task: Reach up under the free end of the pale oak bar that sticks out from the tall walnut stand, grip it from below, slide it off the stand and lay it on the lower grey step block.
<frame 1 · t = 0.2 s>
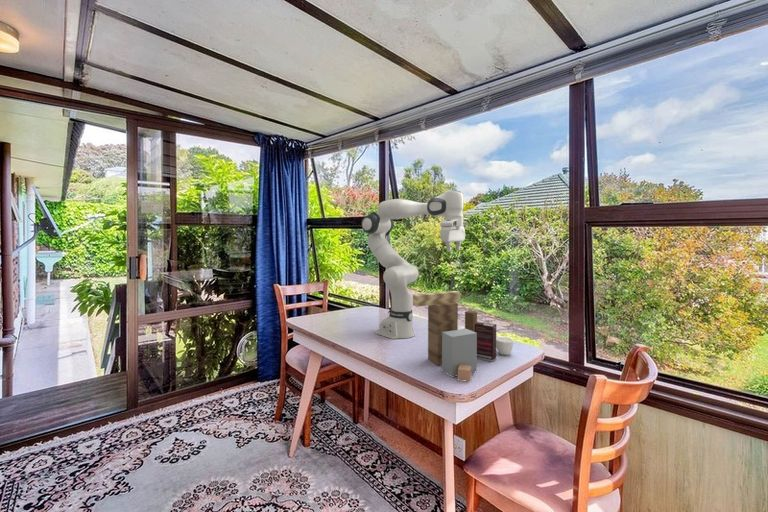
hand: (453, 250, 163), 48 cm above the table, tool pointing down, fingers open, 8 cm apart
oak bar: (436, 303, 143), point 26 cm above the table, touching walnut stand
cup: (504, 353, 155), on the table
supplement box: (485, 358, 148), on the table
clay cube: (464, 378, 128), on the table
walnut stand: (442, 360, 146), on the table
grey step block: (459, 370, 135), on the table
wooden block: (468, 349, 161), on the table
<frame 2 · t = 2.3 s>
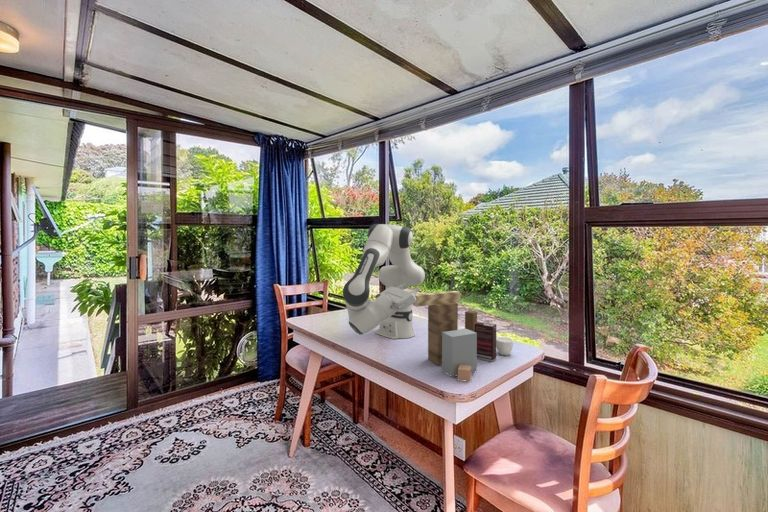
hand: (412, 286, 137), 34 cm above the table, tool pointing upward, fingers open, 8 cm apart
nothing on the table moved.
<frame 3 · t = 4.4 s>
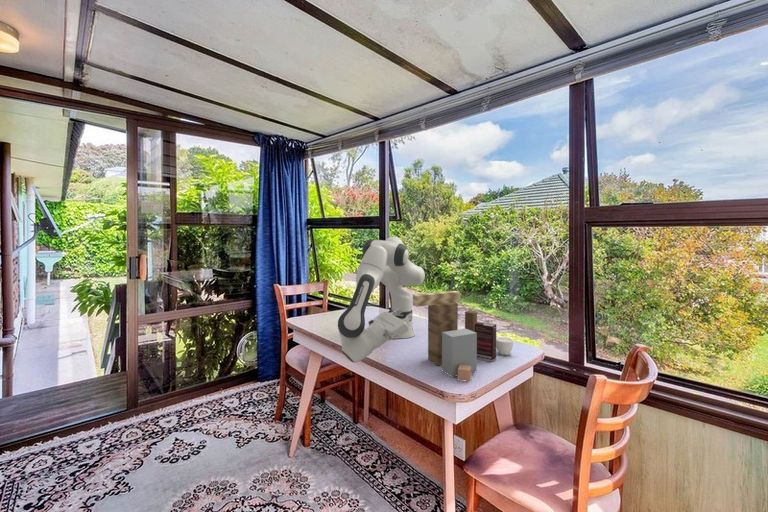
hand: (405, 312, 137), 23 cm above the table, tool pointing upward, fingers open, 8 cm apart
nothing on the table moved.
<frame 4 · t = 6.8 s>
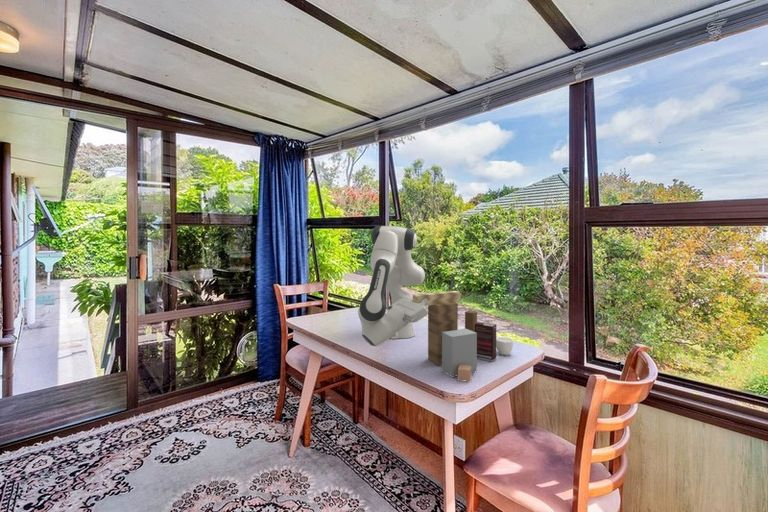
hand: (423, 298, 140), 29 cm above the table, tool pointing upward, fingers closed on oak bar, 3 cm apart
oak bar: (436, 303, 143), point 26 cm above the table, touching gripper, walnut stand
everything else where it was.
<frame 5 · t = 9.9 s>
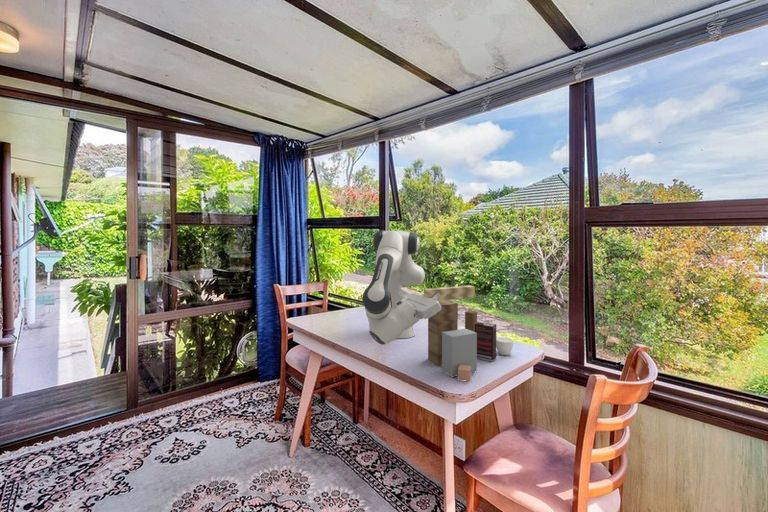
hand: (435, 293, 130), 33 cm above the table, tool pointing upward, fingers closed on oak bar, 3 cm apart
oak bar: (449, 298, 133), point 30 cm above the table, touching gripper
everything else where it was.
when the fingers open (19 cm above the table, at t = 13.1 s): oak bar stays where it is, resting on grey step block.
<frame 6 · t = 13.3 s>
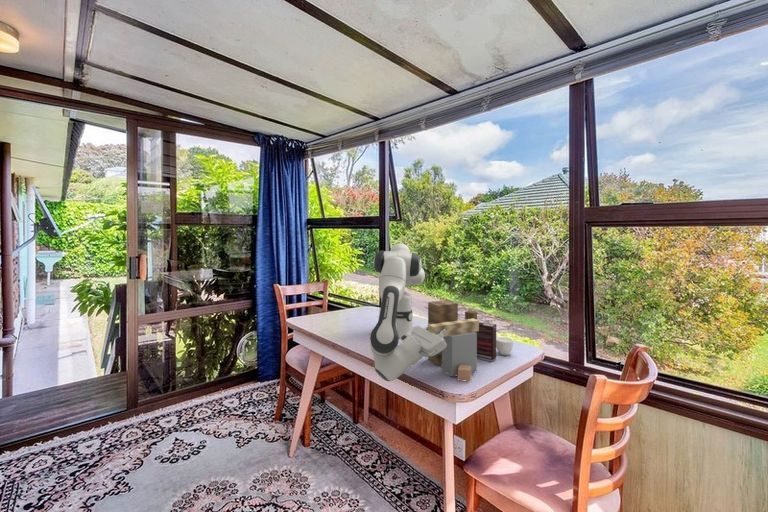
hand: (440, 327, 130), 19 cm above the table, tool pointing upward, fingers open, 6 cm apart
oak bar: (454, 333, 133), point 16 cm above the table, touching grey step block
everything else where it was.
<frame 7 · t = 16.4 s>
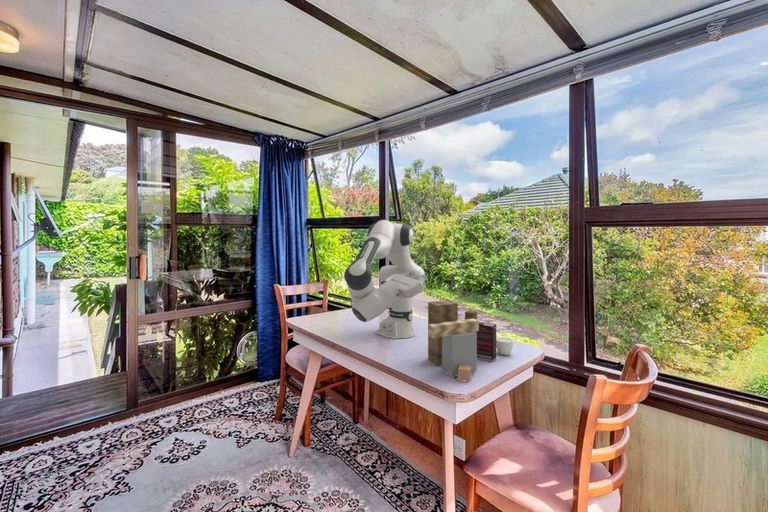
hand: (419, 274, 131), 40 cm above the table, tool pointing upward, fingers open, 8 cm apart
nothing on the table moved.
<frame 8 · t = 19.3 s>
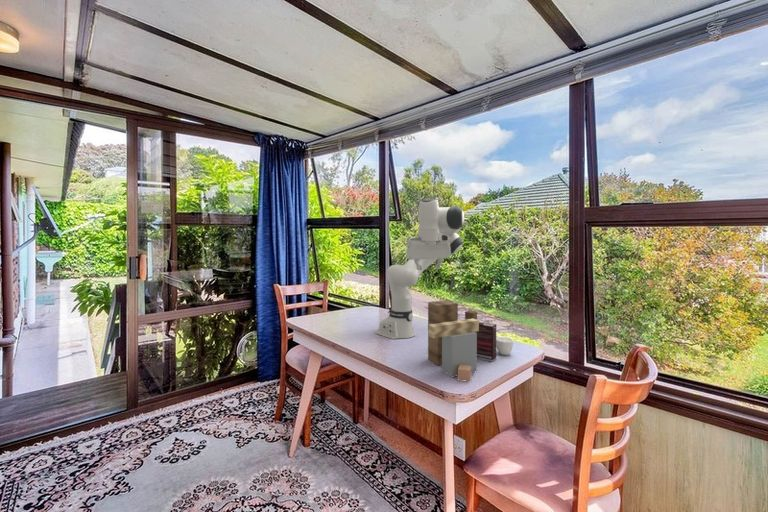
hand: (428, 269, 140), 41 cm above the table, tool pointing down, fingers open, 8 cm apart
nothing on the table moved.
at the end: oak bar inside the target area on the grey step block (0.4 cm from its centre), point 16.0 cm above the grey step block's base; oak bar touching grey step block; the gripper is holding nothing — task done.
